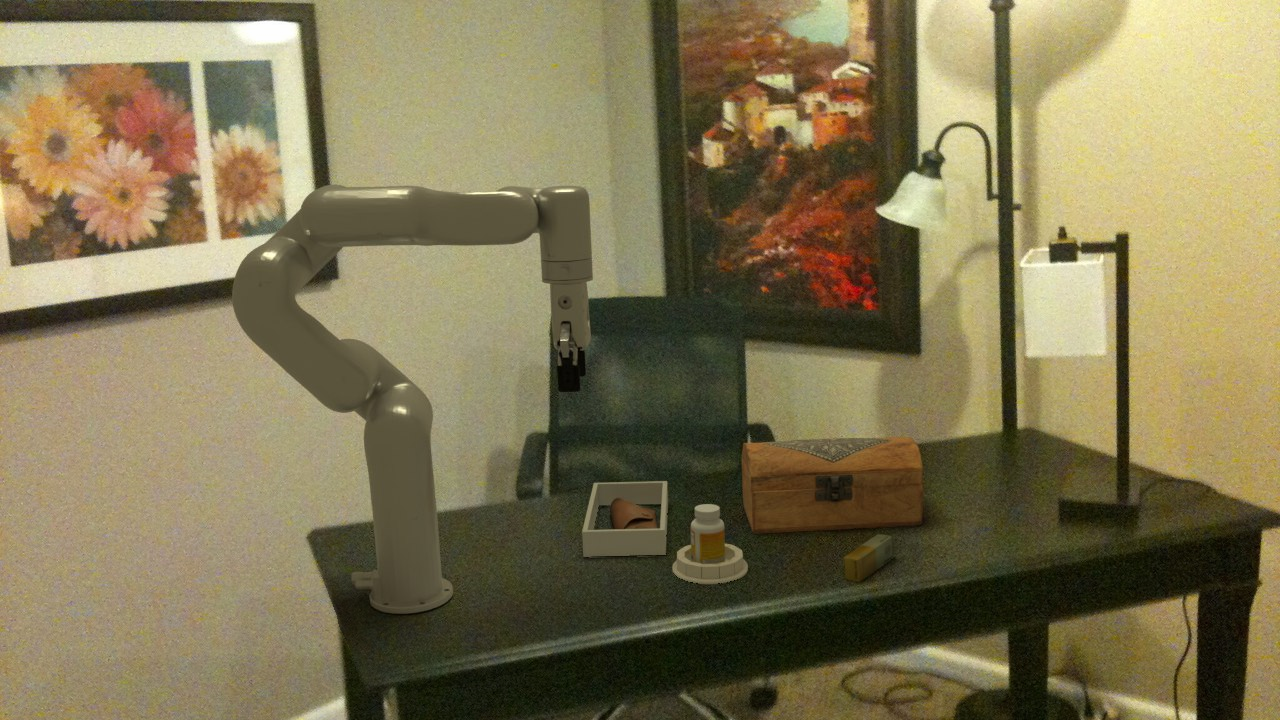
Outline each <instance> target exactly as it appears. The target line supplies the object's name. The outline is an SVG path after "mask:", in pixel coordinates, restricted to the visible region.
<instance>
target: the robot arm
mask: <svg viewBox="0 0 1280 720" xmlns="http://www.w3.org/2000/svg"><path fill="white" fill-rule="evenodd" d="M590 205H591V204H590V195H589V193H588V191H587V189H586V188H585V187H582V186H580V185H555V186H548V187H545V188H541V187H540V188H539V187H527V186H516V185H515V186H514V185H510V186H504V187H501V188H499V189H497V190H495V191H466V192H465V191H446V190H445V191H443V190H442V191H441V190H437V189H431V188H427V187H425V186H418V185H395V186H394V185H393V186H391V185H390V186H345V185H341V184H328V185H324V186H321V187H319V188H316V189H315V190H313V191H311V192H310V193H309V194H308V195H307V196H306V197H305V198H304V200H302V203H301V206H300V209H299V210H298V211H297V212H296V213H295V214H294V215H293V216H292V217H291V218H290V219H289V220H288V221H286V222H285V224H284V225H282V226H281V228H280V229H279V230H277V231H276V232H275V233H274V234H273V235H271V237H270V238H269V239H268V240H267V241H265V242H264V243H263V244H261V245H259V246H257V247H255V248H254V249H252V250H251V251H250V252H249V253H247V255H245V257H244V258H243V259H242V261H241V262H240V264H239V265H238V268H237V270H236V273H235V275H234V280H233V284H232V292H231V297H232V298H231V300H232V301H231V302H232V307H233V311H234V315H235V318H236V321H237V322H238V323H239V325H240V327H241V329H242V330H243V331H244V332H243V333H245V334H246V336H247V337H248V338H249V340H251V341H252V342H253V344H255V345H256V346H257V347H258V348H259V349H261V350H262V351H263V353H265V354H266V355H267V356H268V357H269V358H271V359H272V360H273V361H274V362H275V363H277V365H279V366H280V367H281V368H282V370H283V371H285V372H286V373H287V374H288V375H289V376H290V377H291V378H293V379H294V380H295V381H296V382H297V383H298V384H300V386H302V387H303V388H304V389H306V390H307V391H308V392H309V393H310V394H311V395H312V396H313V397H314V398H315V399H316V400H318V402H319V403H321V404H322V405H323V406H324V407H326V408H327V409H329V410H331V411H333V412H336V413H340V414H341V413H342V414H346V413H352V412H355V413H356V414H357V415H358V416H359V417H361V418H362V419H363V420H364V421H365V424H364V430H363V447H364V454H365V455H364V456H365V460H366V467H367V473H368V481H369V491H370V500H371V501H370V502H371V504H370V505H371V508H372V509H371V511H372V512H371V513H372V519H373V521H372V522H373V523H372V524H373V534H374V542H375V543H374V544H375V554H376V555H375V556H376V566H377V569H372V571H371V572H369V571H367V572H365V571H354V572H353V571H352V573H351V584H352V585H355V590H365V589H370V591H371V592H369V602H370V605H371V606H372V607H373V608H374V609H375V610H377V611H379V612H383V613H387V614H395V615H396V614H397V615H405V614H406V615H407V614H408V615H409V614H416V613H422V612H426V611H430V610H433V609H436V608H438V607H440V606H442V605H444V604H446V603H448V601H449V600H450V599H452V596H453V595H454V590H453V589H454V587H453V584H452V582H451V581H449V580H448V579H446V578H444V577H443V576H442V575H443V574H442V573H443V572H442V564H441V563H442V562H441V549H440V537H439V536H440V535H439V534H440V533H439V523H438V521H439V520H438V510H437V508H438V507H437V499H436V487H435V477H434V476H435V475H434V468H433V457H432V440H431V439H432V438H431V437H432V436H431V434H432V428H433V422H434V421H433V420H434V419H433V418H434V413H433V412H434V411H433V406H432V403H431V401H430V400H429V398H428V397H427V394H426V393H424V392H423V391H422V389H420V387H419V386H417V385H416V384H415V383H414V381H412V380H411V379H409V377H408V376H406V375H405V373H403V372H402V371H401V370H399V368H397V367H396V366H395V365H394V364H393V363H392V362H391V361H389V360H388V359H387V358H386V357H385V356H384V355H382V353H380V352H379V351H378V350H376V348H375V347H373V346H371V345H370V344H368V343H366V342H364V341H363V340H359V339H355V338H344V339H342V338H341V339H339V337H338V336H336V335H334V334H333V333H332V331H330V330H328V328H326V327H325V325H324V324H323V323H321V322H320V321H319V320H318V319H317V318H315V317H314V316H313V315H311V314H310V313H309V312H307V311H305V310H304V309H303V308H302V307H301V306H300V305H299V303H298V301H297V300H296V295H297V293H298V292H300V290H301V289H303V288H304V287H305V286H306V285H307V284H308V283H309V282H310V281H311V280H312V279H313V278H314V277H315V276H316V275H317V274H318V273H319V272H320V271H321V270H322V269H323V268H324V267H325V266H326V265H327V264H328V263H329V262H330V261H331V260H332V259H333V258H334V257H336V255H337V254H339V252H340V251H342V249H343V248H347V247H349V248H350V247H380V246H383V247H385V246H424V247H428V246H429V247H430V246H458V247H459V246H462V247H463V246H464V247H465V246H466V247H467V246H470V247H471V246H503V245H505V246H506V245H514V244H515V245H516V244H519V243H523V242H524V241H527V240H528V239H529V238H530V237H531V236H533V234H538V235H539V246H540V247H539V248H540V266H541V269H540V270H541V282H542V283H544V284H549V290H550V291H549V297H550V298H549V299H550V311H551V313H550V316H551V329H552V340H553V347H554V348H555V349H556V350H557V364H556V368H557V369H556V370H557V372H556V373H557V390H558V392H560V393H577V392H580V391H581V379H580V378H581V377H585V376H586V373H587V372H586V371H587V369H586V351H585V350H586V349H587V348H588V347H589V345H590V341H591V338H592V334H591V320H590V304H589V303H590V302H589V291H588V284H587V283H588V282H590V281H593V280H594V278H593V277H594V274H593V273H594V272H593V270H594V269H593V255H592V254H593V252H592V248H593V247H592V233H591V232H592V230H591V208H590Z"/></svg>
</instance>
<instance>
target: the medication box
mask: <svg viewBox="0 0 1280 720" xmlns="http://www.w3.org/2000/svg"><path fill="white" fill-rule="evenodd" d="M893 539H894V538H893V535H890V534H887V533H878V534H875V535H874V536H872V537H871V538H870V539H868V540H867V541H865V542H864V543H862V544H861V545H860V546H858V547H857V548H856V549H854V550H852V551H850V552H849V553H848V554H847V555H845V556H843V571H844V580H847V579H848V581H850V582H851V581H852V582H855V583H856V582H857V583H860V582H862V581H863V580H865V579H866V578H868V577H869V576H871V574H873V573H875V572H876V571H878V570H879V569H880V568H882V567H883V566H885V565H886V564H887V562H888V563H889V562H890V561H892V560H894V559H895V558H894V557H895V556H894V552H895V551H894V540H893ZM891 559H892V560H891ZM884 564H885V565H884ZM878 568H879V569H878ZM877 569H878V570H877ZM874 571H875V572H874Z"/></svg>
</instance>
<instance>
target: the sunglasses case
mask: <svg viewBox="0 0 1280 720" xmlns="http://www.w3.org/2000/svg"><path fill="white" fill-rule="evenodd" d="M609 513H610V517H611V522H612V527H613V529H658V528H659V524H658V521H657V517H656V511H655V510H654V509H651V508H648V507H646V506H638V505H636V504H634V503H632V502H629V501H627V500H624V499H622V498H616V499H614V500H613V501H612V503H611V505H610V507H609Z"/></svg>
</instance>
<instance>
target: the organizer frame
mask: <svg viewBox="0 0 1280 720" xmlns="http://www.w3.org/2000/svg"><path fill="white" fill-rule="evenodd" d="M668 491H669V490H668V481H667V480H665V481H664V480H660V481H658V480H655V481H653V480H652V481H620V482H616V481H614V482H593V486H592V489H591V494H590V497H589V502H588V505H587V510H586V513H585V518H584V523H583V527H582V531H581V535H582V537H581V539H582V556H583V557H589V558H592V557H591V556H629V555H667V554H666V553H667V537H666V535H668V534H667V532H668V515H667V513H668V511H669V510H668V509H669V497H668V496H669V495H668V494H669V493H668ZM616 498H622V499H624V500H627V501H629V502H632V503H634V504H661V506H660V522H659V523H660V524H659V527H658V529H614V528H613V529H595V528H594V526H595V527H596V523H595V521H596V522H597V519H596V517H597V518H598V514H597V512H598V513H599V509H598V507H599V505H611V503H612V501H613V500H614V499H616ZM599 508H600V507H599Z"/></svg>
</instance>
